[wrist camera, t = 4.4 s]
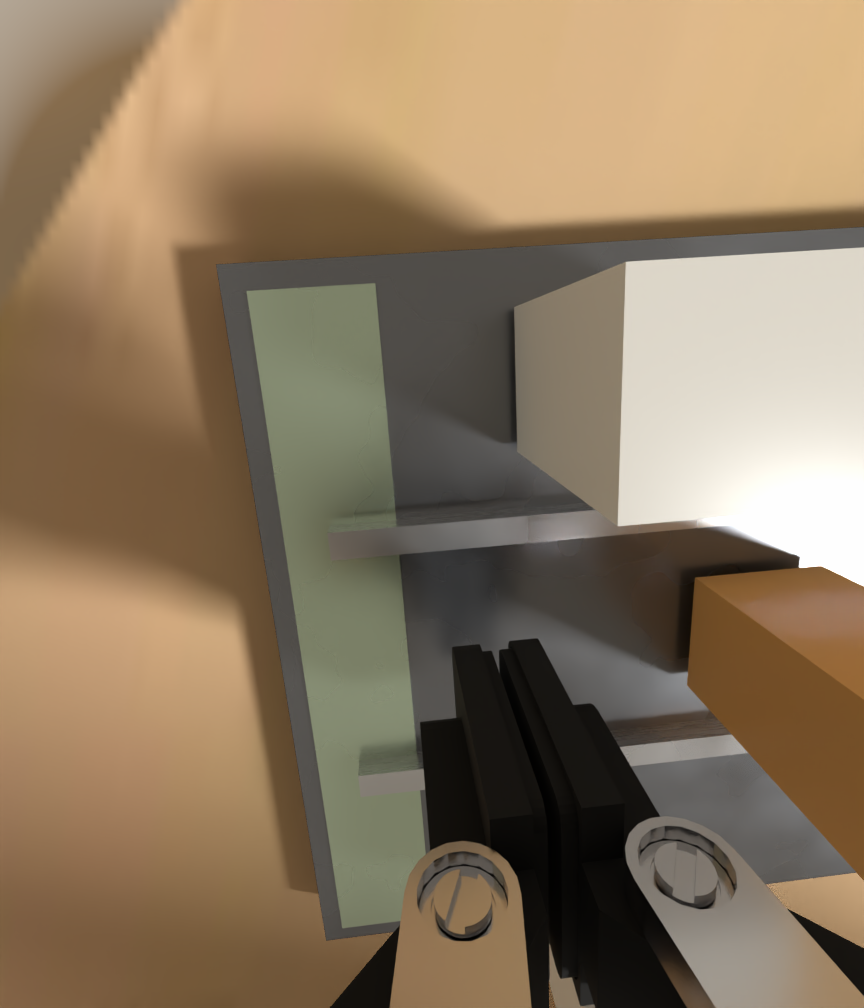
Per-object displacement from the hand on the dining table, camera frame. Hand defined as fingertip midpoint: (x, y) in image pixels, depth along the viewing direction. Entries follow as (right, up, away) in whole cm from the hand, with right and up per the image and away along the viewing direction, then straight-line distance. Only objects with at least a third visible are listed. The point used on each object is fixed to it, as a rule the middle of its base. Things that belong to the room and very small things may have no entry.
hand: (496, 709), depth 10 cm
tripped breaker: (+6, +1, +2) cm, 7 cm away
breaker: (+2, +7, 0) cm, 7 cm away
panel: (+6, +2, +4) cm, 7 cm away
